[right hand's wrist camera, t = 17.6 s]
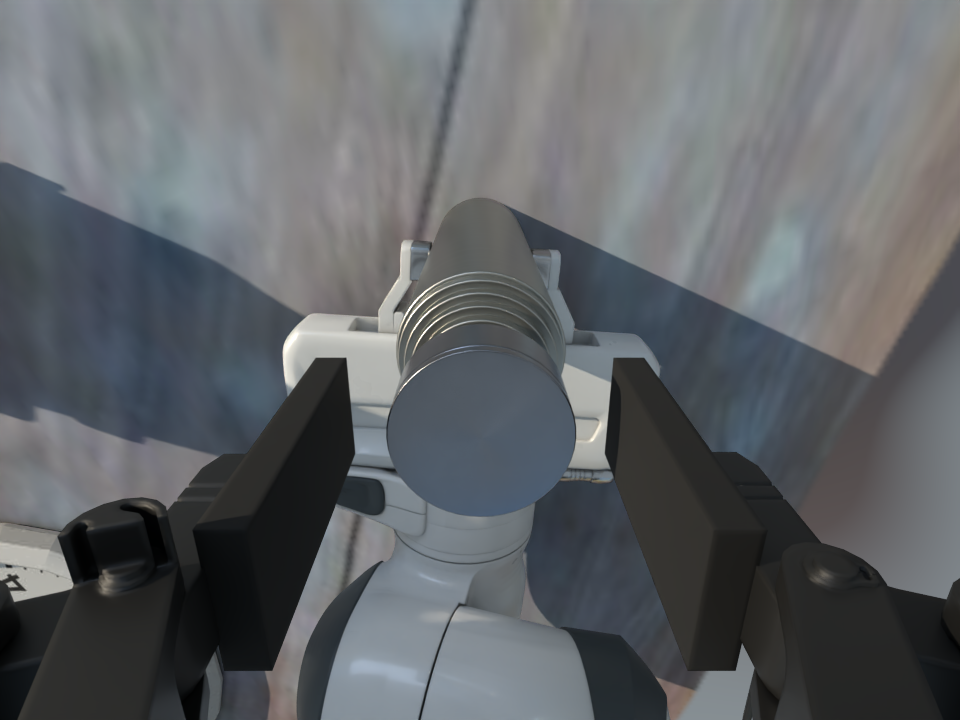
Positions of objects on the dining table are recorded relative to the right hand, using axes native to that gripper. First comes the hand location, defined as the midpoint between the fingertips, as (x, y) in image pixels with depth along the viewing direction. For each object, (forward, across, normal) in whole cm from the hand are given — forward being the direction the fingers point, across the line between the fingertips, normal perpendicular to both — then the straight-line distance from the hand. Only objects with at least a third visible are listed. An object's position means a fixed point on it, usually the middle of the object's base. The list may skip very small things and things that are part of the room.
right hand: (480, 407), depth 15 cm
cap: (-1, 0, 0) cm, 1 cm away
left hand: (+17, 0, -1) cm, 17 cm away
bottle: (+23, 0, 0) cm, 23 cm away
